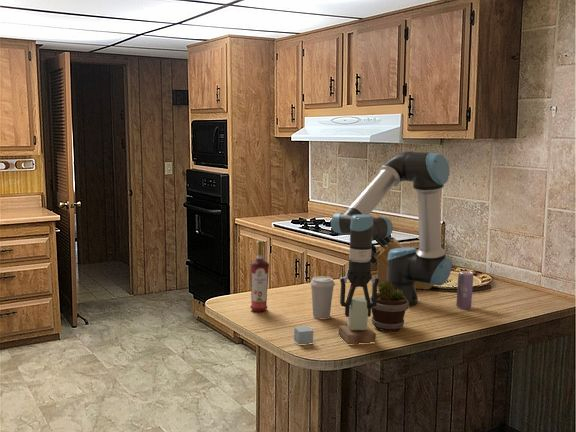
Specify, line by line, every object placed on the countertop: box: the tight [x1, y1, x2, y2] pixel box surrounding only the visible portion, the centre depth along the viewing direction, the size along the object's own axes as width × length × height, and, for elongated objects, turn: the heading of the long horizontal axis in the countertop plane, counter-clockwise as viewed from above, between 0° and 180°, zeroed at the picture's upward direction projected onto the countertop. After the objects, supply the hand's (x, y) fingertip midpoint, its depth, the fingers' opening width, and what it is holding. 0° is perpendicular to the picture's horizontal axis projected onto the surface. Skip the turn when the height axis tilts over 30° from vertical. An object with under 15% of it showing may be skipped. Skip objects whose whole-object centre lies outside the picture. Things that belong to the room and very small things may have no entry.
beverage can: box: [455, 270, 474, 311], centre depth 261 cm, size 6×6×15 cm
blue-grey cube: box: [293, 325, 314, 345], centre depth 215 cm, size 5×5×5 cm
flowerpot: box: [369, 278, 409, 332], centre depth 233 cm, size 14×15×20 cm
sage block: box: [350, 297, 367, 330], centre depth 219 cm, size 5×5×10 cm
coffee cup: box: [309, 275, 336, 319], centre depth 244 cm, size 10×10×15 cm
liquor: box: [249, 239, 270, 312], centre depth 249 cm, size 7×7×28 cm
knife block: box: [370, 235, 434, 291], centre depth 292 cm, size 11×35×31 cm, turn 82°
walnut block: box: [338, 324, 377, 345], centre depth 220 cm, size 10×10×4 cm
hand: (357, 325), depth 220 cm, fingers closed on sage block, 5 cm apart
